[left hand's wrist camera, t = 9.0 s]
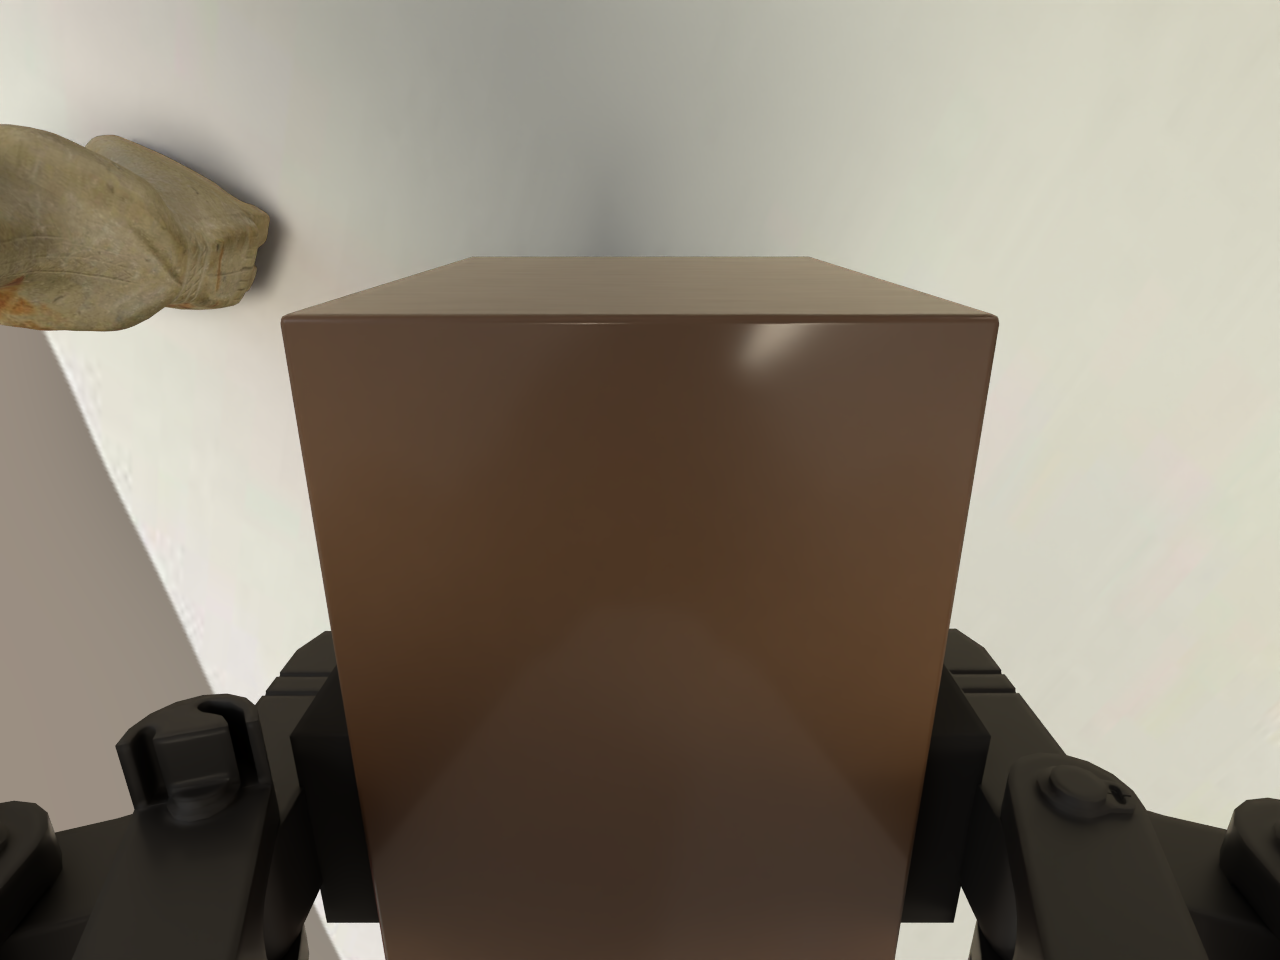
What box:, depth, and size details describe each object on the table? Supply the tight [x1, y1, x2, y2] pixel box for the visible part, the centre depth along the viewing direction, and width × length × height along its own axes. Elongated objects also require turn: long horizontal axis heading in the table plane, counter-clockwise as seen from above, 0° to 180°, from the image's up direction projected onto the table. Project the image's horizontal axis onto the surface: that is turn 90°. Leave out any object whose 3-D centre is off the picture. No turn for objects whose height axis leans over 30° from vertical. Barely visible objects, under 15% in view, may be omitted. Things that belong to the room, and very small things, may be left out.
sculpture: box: [0, 124, 270, 331], centre depth 23 cm, size 6×7×15 cm
